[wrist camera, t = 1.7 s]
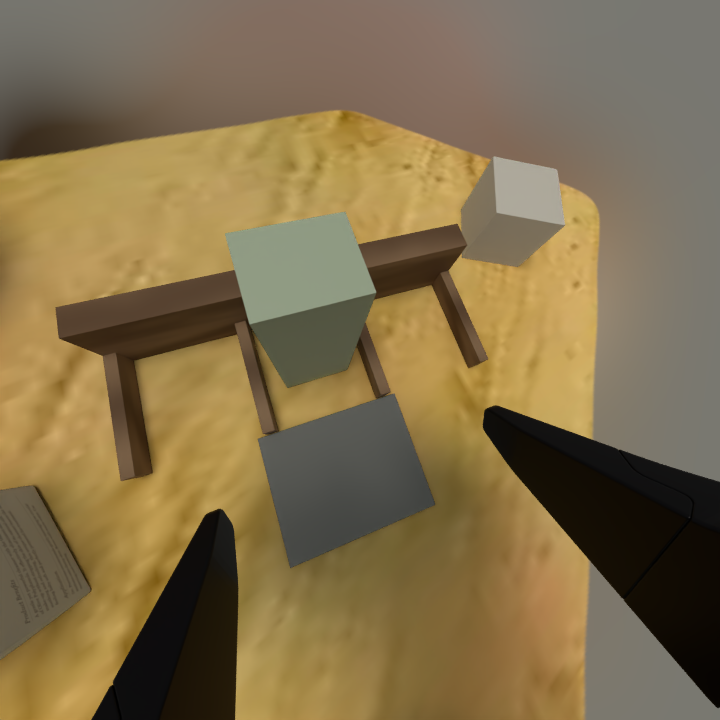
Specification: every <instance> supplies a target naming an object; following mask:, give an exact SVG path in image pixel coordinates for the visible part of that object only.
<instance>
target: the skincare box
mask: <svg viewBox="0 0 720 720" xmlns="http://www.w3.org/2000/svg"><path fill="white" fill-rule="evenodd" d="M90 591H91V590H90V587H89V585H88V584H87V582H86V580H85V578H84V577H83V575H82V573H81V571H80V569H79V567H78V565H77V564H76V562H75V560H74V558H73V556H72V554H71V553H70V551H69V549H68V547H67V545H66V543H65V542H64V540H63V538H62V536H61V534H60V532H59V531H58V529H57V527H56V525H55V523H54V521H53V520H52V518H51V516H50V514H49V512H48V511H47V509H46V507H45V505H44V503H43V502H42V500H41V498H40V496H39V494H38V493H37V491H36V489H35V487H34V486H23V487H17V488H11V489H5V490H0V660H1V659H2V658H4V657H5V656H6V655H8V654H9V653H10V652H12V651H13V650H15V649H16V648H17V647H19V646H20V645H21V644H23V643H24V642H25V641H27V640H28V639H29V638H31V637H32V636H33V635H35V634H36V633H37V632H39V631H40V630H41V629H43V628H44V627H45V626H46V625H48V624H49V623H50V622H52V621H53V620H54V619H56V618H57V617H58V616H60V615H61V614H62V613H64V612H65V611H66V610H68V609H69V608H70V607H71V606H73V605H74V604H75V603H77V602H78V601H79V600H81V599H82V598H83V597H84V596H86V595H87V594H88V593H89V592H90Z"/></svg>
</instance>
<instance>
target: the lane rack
mask: <svg viewBox="0 0 720 720" xmlns="http://www.w3.org/2000/svg"><path fill="white" fill-rule="evenodd" d="M358 246H359V249H360V251H361V254H362V257H363V259H364V262H365V264H366V267H367V269H368V272H369V275H370V277H371V280H372V282H373V285H374V288H375V290H376V295H375V298H374V299H377V298H381V297H385V296H389V295H393V294H397V293H401V292H404V291H408V290H412V289H416V288H420V287H424V286H428V285H432V286H433V288H434V291H435V293H436V295H437V297H438V300H439V302H440V304H441V307H442V309H443V311H444V313H445V316H446V318H447V320H448V323H449V325H450V327H451V329H452V332H453V334H454V336H455V339H456V341H457V343H458V346H459V348H460V350H461V352H462V355H463V357H464V359H465V362H466V364H467V366H468V368H469V367H472V366H475V365H478V364H480V363H482V362H484V361H486V360H488V357H487V355H486V352H485V350H484V348H483V346H482V344H481V341H480V339H479V337H478V335H477V333H476V331H475V328H474V326H473V324H472V322H471V320H470V317H469V315H468V313H467V311H466V309H465V306H464V304H463V302H462V300H461V298H460V295H459V293H458V291H457V289H456V287H455V284H454V282H453V280H452V278H451V276H450V274H449V271H448V270H449V269H450V268H451V266H452V265H453V264H454V262H455V261H456V260H457V258H458V257H459V256H460V254H461V253H462V252H463V250H464V249H465V248H466V246H467V243H466V241H465V239H464V237H463V235H462V233H461V230H460V228H459V226H458V224H454V225H449V226H444V227H439V228H435V229H430V230H425V231H420V232H415V233H411V234H406V235H401V236H396V237H391V238H387V239H382V240H377V241H372V242H367V243H363V244H358ZM56 316H57V326H58V335H59V339H62V340H64V341H67V342H69V343H72V344H74V345H77V346H79V347H82V348H84V349H87V350H89V351H92V352H94V353H97V354H99V355H102V356H103V361H104V368H105V375H106V382H107V389H108V396H109V403H110V410H111V417H112V424H113V431H114V438H115V445H116V451H117V458H118V465H119V472H120V479H121V481H124V480H129V479H134V478H139V477H142V476H145V475H148V474H151V473H152V468H151V462H150V456H149V450H148V444H147V438H146V432H145V426H144V420H143V414H142V408H141V402H140V396H139V390H138V384H137V378H136V372H135V366H134V360H137V359H141V358H145V357H149V356H153V355H157V354H161V353H165V352H169V351H172V350H176V349H180V348H184V347H188V346H192V345H196V344H200V343H204V342H208V341H212V340H216V339H220V338H224V337H228V336H231V335H235V334H237V335H238V339H239V343H240V346H241V350H242V354H243V358H244V362H245V366H246V370H247V374H248V378H249V381H250V385H251V389H252V393H253V397H254V401H255V405H256V409H257V413H258V416H259V420H260V424H261V428H262V432H263V434H267V435H268V434H271V433H274V432H277V431H278V427H277V424H276V420H275V416H274V412H273V409H272V405H271V401H270V398H269V394H268V390H267V386H266V383H265V379H264V375H263V372H262V368H261V364H260V361H259V357H258V353H257V349H256V346H255V342H254V338H253V335H252V331H251V330H253V329H252V328H251V326H250V324H249V321H248V317H247V313H246V310H245V306H244V302H243V299H242V295H241V291H240V287H239V284H238V280H237V276H236V273H235V270H233V271H228V272H224V273H219V274H214V275H209V276H204V277H200V278H195V279H190V280H185V281H180V282H176V283H171V284H166V285H161V286H156V287H152V288H147V289H142V290H137V291H132V292H128V293H123V294H118V295H113V296H108V297H104V298H99V299H94V300H89V301H84V302H80V303H75V304H70V305H65V306H60V307H56ZM357 346H358V349H359V352H360V355H361V358H362V360H363V363H364V366H365V369H366V372H367V375H368V377H369V380H370V383H371V386H372V389H373V392H374V394H375V397H376V398H379V397H382V396H385V395H387V394H388V393H389V392H391V391H390V388H389V386H388V383H387V380H386V377H385V375H384V372H383V369H382V367H381V364H380V361H379V358H378V356H377V353H376V350H375V348H374V345H373V342H372V339H371V337H370V334H369V331H368V328H367V326H366V323H365V324H364V327H363V329H362V332H361V335H360V337H359V340H358V342H357Z"/></svg>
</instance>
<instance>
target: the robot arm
mask: <svg viewBox="0 0 720 720" xmlns="http://www.w3.org/2000/svg"><path fill="white" fill-rule="evenodd" d="M483 429H484V431H485V433H486V434H487V436H488V437H489V438H490V440H491V441H492V443H493V444H494V445H495V447H496V448H497V450H498V451H499V453H500V454H501V455H502V457H503V458H504V460H505V461H506V463H507V464H508V465H509V467H510V468H511V469H512V470H513V472H514V473H515V474H516V475H517V476H518V477H519V479H520V480H521V481H522V482H523V483H524V484H525V486H526V487H527V488H528V489H529V490H530V491H531V493H532V494H533V495H534V496H535V497H536V498H537V500H538V501H539V502H540V503H541V504H542V505H543V507H544V508H545V509H546V510H547V511H548V512H549V514H550V515H551V516H552V517H553V518H554V519H555V521H556V522H557V523H558V524H559V525H560V526H561V528H562V529H563V530H564V531H565V532H566V533H567V535H568V536H569V537H570V538H571V539H572V540H573V542H574V543H575V544H576V545H577V546H578V547H579V549H580V550H581V551H582V552H583V553H584V554H585V556H586V557H587V558H588V559H589V560H590V561H591V563H592V564H593V565H594V566H595V567H596V568H597V570H598V571H599V572H600V573H601V574H602V575H603V577H604V578H605V579H606V580H607V581H608V582H609V584H610V585H611V586H612V587H613V588H614V589H615V590H616V592H617V593H618V594H619V595H620V596H621V597H622V598H623V599H624V601H625V602H626V603H627V605H628V606H629V607H630V608H631V609H632V611H633V612H634V613H635V614H636V615H637V616H638V617H639V619H640V620H641V621H642V622H643V623H644V624H645V626H646V627H647V628H648V629H649V630H650V632H651V633H652V634H653V635H654V636H655V637H656V638H657V640H658V641H659V642H660V643H661V644H662V645H663V647H664V648H665V649H666V650H667V651H668V653H669V654H670V655H671V656H672V657H673V658H674V659H675V661H676V662H677V663H678V664H679V665H680V666H681V668H682V669H683V670H684V671H685V672H686V673H687V675H688V676H689V677H690V678H691V679H692V680H693V681H694V683H695V684H696V685H697V686H698V687H699V688H700V690H701V691H702V692H703V693H704V694H705V696H706V697H707V698H708V699H709V700H710V701H711V702H712V703H713V704H714V705H715V706H716V707H717V708H720V482H718V481H715V480H712V479H708V478H705V477H702V476H698V475H695V474H692V473H688V472H685V471H682V470H679V469H676V468H672V467H669V466H666V465H663V464H659V463H657V462H654V461H651V460H648V459H645V458H642V457H639V456H636V455H633V454H631V453H628V452H625V451H622V450H618V449H616V448H613V447H611V446H608V445H605V444H602V443H599V442H597V441H594V440H592V439H589V438H586V437H583V436H580V435H578V434H575V433H572V432H569V431H567V430H564V429H561V428H558V427H556V426H553V425H550V424H547V423H544V422H542V421H539V420H536V419H533V418H531V417H528V416H525V415H522V414H519V413H517V412H514V411H511V410H508V409H506V408H503V407H500V406H492V407H489V408H487V409H485V411H484V419H483ZM237 628H238V574H237V562H236V550H235V538H234V528H233V525H232V523H231V521H230V520H229V518H228V517H227V515H226V514H225V512H224V511H223V510H222V509H217V510H215V511H212V512H209V513H207V514H206V515H205V516H204V518H203V520H202V522H201V523H200V525H199V527H198V529H197V531H196V532H195V534H194V536H193V538H192V540H191V541H190V543H189V545H188V547H187V549H186V550H185V552H184V554H183V556H182V558H181V559H180V561H179V563H178V565H177V567H176V568H175V570H174V572H173V574H172V576H171V577H170V579H169V581H168V583H167V585H166V587H165V588H164V590H163V592H162V594H161V596H160V597H159V599H158V601H157V603H156V605H155V606H154V608H153V610H152V612H151V614H150V615H149V617H148V619H147V621H146V623H145V624H144V626H143V628H142V630H141V632H140V633H139V635H138V637H137V639H136V641H135V642H134V644H133V646H132V648H131V650H130V652H129V653H128V655H127V657H126V659H125V661H124V662H123V664H122V666H121V668H120V670H119V671H118V673H117V675H116V677H115V679H114V680H113V685H112V686H110V687H109V689H108V691H107V693H106V695H105V696H104V698H103V700H102V702H101V704H100V705H99V707H98V709H97V711H96V713H95V714H94V716H93V718H92V720H235V703H236V665H237Z"/></svg>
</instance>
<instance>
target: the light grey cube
mask: <svg viewBox="0 0 720 720" xmlns="http://www.w3.org/2000/svg"><path fill="white" fill-rule="evenodd" d="M564 226H565V222H564V215H563V208H562V201H561V193H560V186H559V179H558V172H557V169H552V168H548V167H543V166H537V165H533V164H528V163H523V162H518V161H513V160H508V159H503V158H499V157H493V158H492V159H491V161H490V163H489V164H488V166H487V168H486V169H485V171H484V172H483V174H482V176H481V177H480V179H479V181H478V182H477V184H476V186H475V187H474V189H473V191H472V192H471V194H470V196H469V197H468V199H467V201H466V202H465V204H464V205H463V207H462V209H461V228H462V235H463V237H464V239H465V241H466V243H467V246H466V248H465V249H464V250H463V252H462V258H466V259H472V260H478V261H485V262H491V263H497V264H503V265H509V266H515V267H518V266H520V265H521V264H522V263H523V262H524V261H525V260H526V259H528V258H529V257H530V256H531V255H532V254H533V253H534V252H535V251H537V250H538V249H539V248H540V247H541V246H542V245H543V244H544V243H546V242H547V241H548V240H549V239H550V238H551V237H552V236H554V235H555V234H556V233H557V232H558V231H559V230H560V229H561V228H563V227H564Z"/></svg>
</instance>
